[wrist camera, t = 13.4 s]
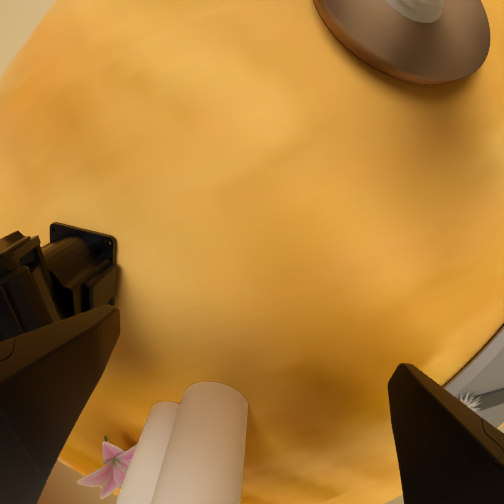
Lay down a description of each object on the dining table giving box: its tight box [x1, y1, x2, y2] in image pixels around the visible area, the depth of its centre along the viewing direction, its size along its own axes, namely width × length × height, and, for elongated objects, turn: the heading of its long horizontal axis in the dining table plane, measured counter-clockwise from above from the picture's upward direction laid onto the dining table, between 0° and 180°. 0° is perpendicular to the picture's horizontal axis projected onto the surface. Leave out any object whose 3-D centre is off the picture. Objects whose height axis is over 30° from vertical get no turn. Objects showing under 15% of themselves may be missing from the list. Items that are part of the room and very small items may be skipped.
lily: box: [77, 436, 138, 499], centre depth 28 cm, size 12×12×10 cm
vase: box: [116, 381, 248, 504], centre depth 18 cm, size 11×7×20 cm, turn 131°
